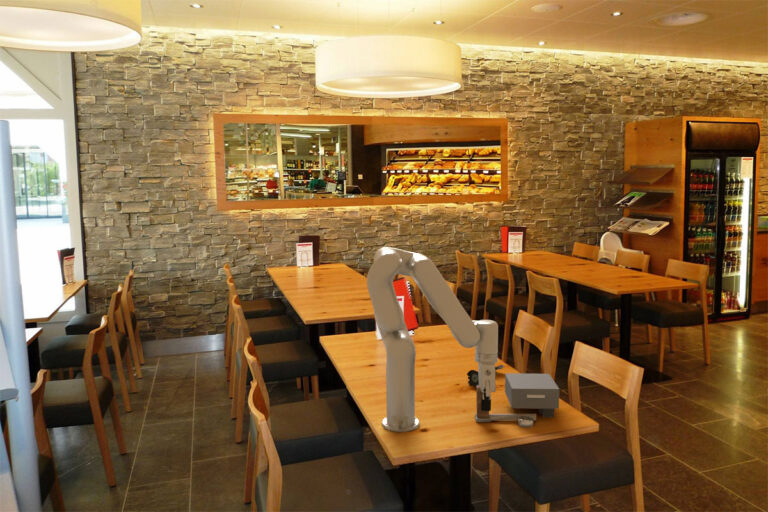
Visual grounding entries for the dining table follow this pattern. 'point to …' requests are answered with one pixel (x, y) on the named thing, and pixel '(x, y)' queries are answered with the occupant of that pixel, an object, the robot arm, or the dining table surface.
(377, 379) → the dining table surface
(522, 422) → the steel puck
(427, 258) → the robot arm
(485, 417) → the scraper
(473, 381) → the artificial flower
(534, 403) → the charcoal cabinet
